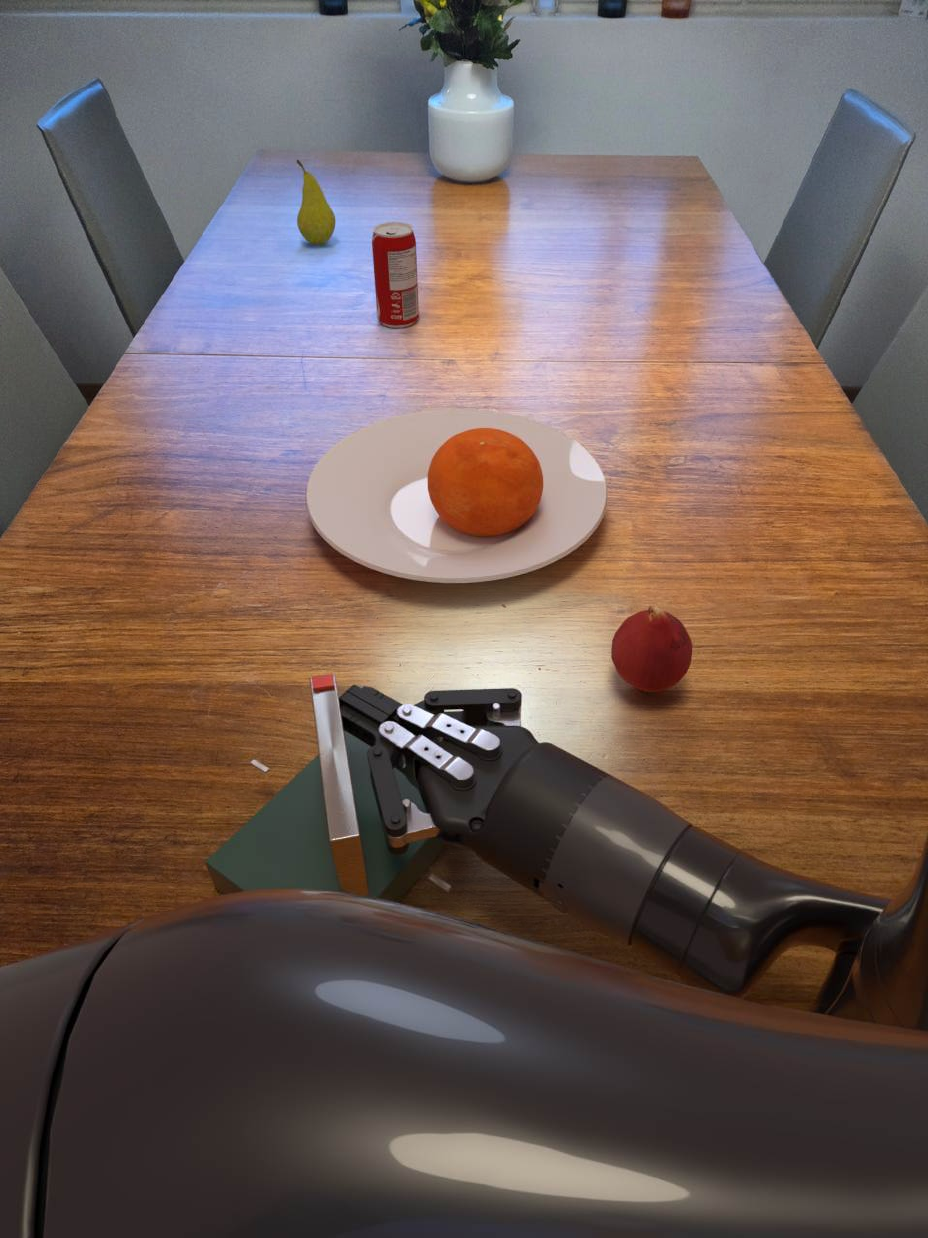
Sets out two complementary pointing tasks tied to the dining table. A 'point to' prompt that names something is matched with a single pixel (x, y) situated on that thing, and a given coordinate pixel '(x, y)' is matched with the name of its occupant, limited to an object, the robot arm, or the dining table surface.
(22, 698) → the dining table surface
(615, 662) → the onion
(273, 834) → the base block
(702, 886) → the robot arm
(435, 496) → the plate
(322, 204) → the fruit
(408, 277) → the soda can
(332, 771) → the upright slab
